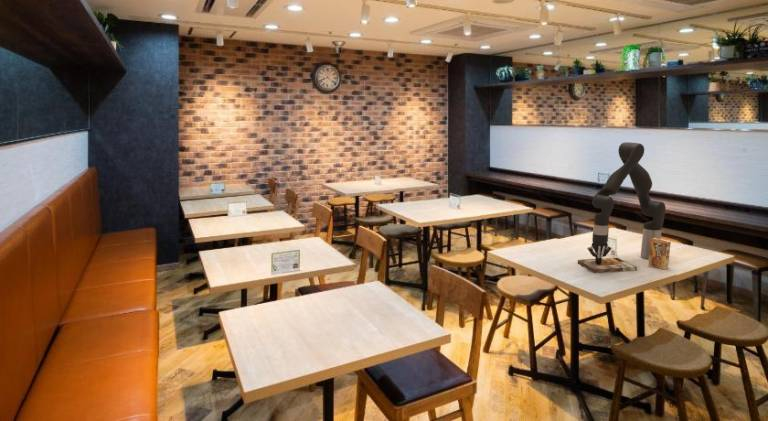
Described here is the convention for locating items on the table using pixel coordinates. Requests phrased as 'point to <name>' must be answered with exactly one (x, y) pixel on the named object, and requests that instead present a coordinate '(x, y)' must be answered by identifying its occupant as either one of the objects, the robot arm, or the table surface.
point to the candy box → (659, 253)
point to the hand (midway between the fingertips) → (598, 264)
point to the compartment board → (607, 266)
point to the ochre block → (609, 261)
